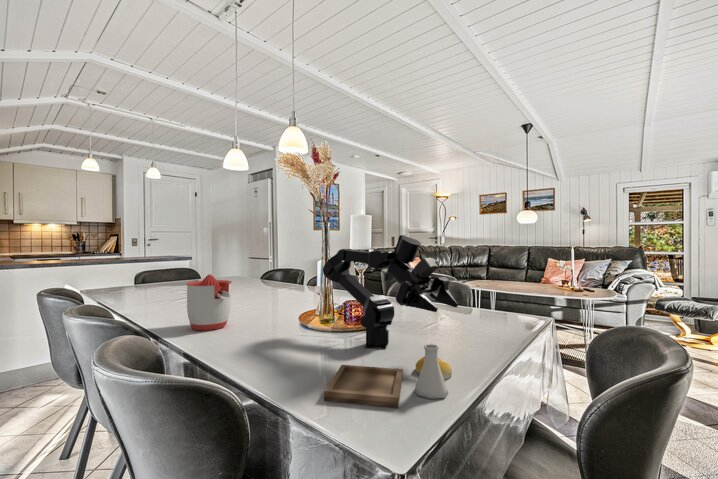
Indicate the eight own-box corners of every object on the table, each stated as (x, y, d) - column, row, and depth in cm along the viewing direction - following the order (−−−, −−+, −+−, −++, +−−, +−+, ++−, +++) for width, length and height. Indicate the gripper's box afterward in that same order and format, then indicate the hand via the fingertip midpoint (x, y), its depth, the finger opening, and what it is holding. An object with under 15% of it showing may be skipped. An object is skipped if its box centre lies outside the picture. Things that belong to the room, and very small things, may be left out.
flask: (449, 401, 68) (449, 352, 68) (413, 398, 70) (413, 350, 70) (447, 386, 75) (447, 342, 75) (414, 383, 77) (414, 340, 77)
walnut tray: (324, 400, 68) (324, 390, 68) (341, 372, 83) (341, 364, 83) (398, 408, 65) (398, 397, 65) (402, 377, 80) (402, 369, 80)
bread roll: (430, 384, 77) (430, 366, 77) (410, 370, 85) (410, 354, 86) (459, 379, 80) (459, 362, 80) (438, 366, 88) (438, 350, 88)
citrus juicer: (206, 336, 114) (207, 277, 115) (176, 329, 123) (177, 274, 123) (243, 326, 128) (243, 273, 128) (214, 320, 137) (214, 271, 137)
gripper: (393, 252, 87) (438, 284, 77) (435, 251, 100) (479, 278, 89) (379, 288, 91) (420, 323, 81) (422, 283, 103) (462, 313, 93)
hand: (447, 308), depth 86 cm, fingers open, 9 cm apart
